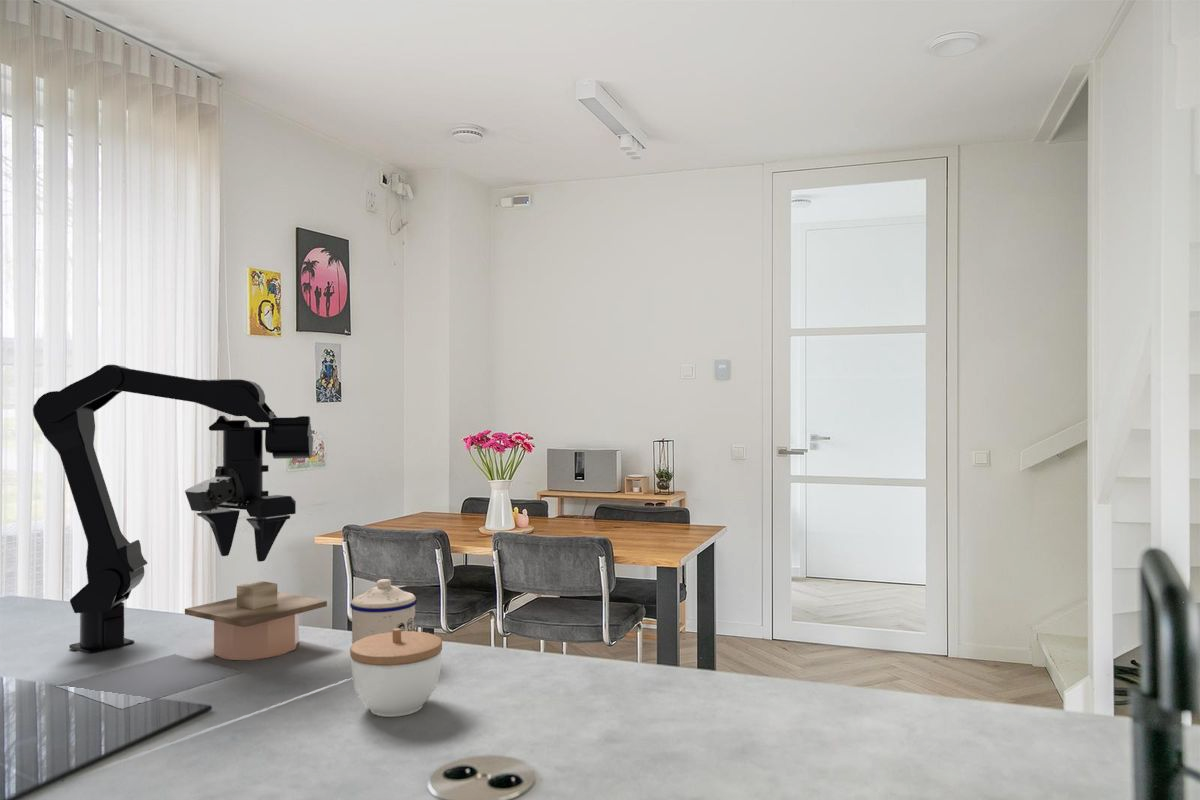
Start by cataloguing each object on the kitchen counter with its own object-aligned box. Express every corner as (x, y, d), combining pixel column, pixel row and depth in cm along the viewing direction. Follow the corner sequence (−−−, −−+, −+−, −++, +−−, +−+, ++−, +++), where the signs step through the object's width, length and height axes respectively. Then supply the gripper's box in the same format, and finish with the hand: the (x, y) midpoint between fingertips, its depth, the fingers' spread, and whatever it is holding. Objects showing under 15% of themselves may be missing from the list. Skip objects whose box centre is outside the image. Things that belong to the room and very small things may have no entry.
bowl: (200, 654, 119) (200, 613, 119) (266, 636, 128) (266, 598, 128) (247, 666, 113) (247, 623, 113) (312, 646, 122) (312, 607, 122)
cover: (184, 614, 118) (184, 588, 118) (268, 595, 130) (268, 571, 130) (244, 627, 111) (244, 599, 111) (326, 606, 123) (326, 581, 123)
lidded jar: (419, 728, 91) (419, 644, 91) (332, 721, 93) (332, 639, 93) (455, 695, 101) (455, 620, 101) (376, 689, 103) (376, 616, 104)
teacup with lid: (400, 674, 109) (400, 588, 110) (338, 670, 111) (338, 585, 111) (434, 649, 121) (434, 571, 121) (378, 646, 123) (378, 569, 123)
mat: (53, 688, 104) (53, 685, 104) (174, 656, 118) (174, 654, 118) (121, 711, 96) (121, 709, 96) (242, 674, 110) (242, 672, 110)
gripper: (159, 460, 126) (158, 561, 126) (232, 464, 116) (232, 573, 116) (225, 456, 135) (224, 550, 135) (298, 460, 125) (298, 561, 125)
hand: (242, 558), depth 127 cm, fingers open, 9 cm apart
